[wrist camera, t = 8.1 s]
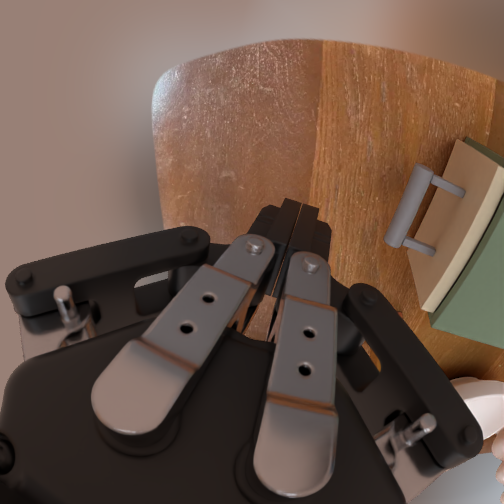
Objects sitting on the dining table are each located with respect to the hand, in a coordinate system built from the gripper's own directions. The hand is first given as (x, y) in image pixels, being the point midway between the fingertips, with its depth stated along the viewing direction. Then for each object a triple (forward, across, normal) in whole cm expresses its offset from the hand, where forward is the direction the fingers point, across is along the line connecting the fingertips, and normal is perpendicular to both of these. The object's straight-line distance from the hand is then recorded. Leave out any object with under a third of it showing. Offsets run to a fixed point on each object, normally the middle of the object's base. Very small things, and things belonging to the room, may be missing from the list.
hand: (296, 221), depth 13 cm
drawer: (+13, -15, 0) cm, 20 cm away
